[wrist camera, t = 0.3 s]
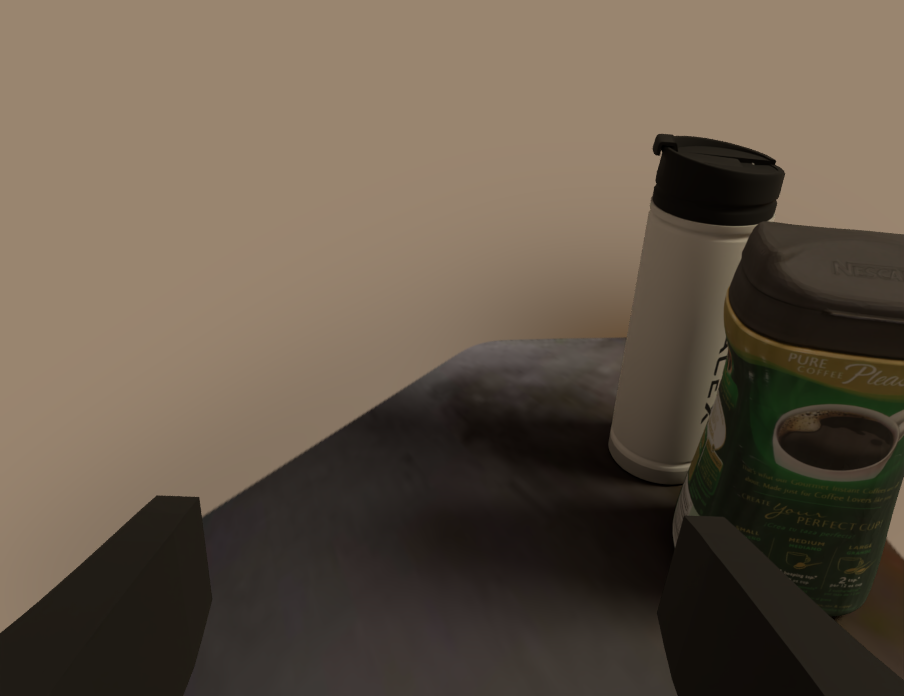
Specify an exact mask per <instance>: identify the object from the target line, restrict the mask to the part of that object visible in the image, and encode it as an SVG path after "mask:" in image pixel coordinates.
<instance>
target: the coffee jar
mask: <svg viewBox="0 0 904 696" xmlns="http://www.w3.org/2000/svg"><path fill="white" fill-rule="evenodd" d="M724 328H725V334H726V339H727V344H728V353H727V359H726V363H725V367H724V371H723V375H722V379H721V382H720V386H719V389H718V393H717V396H716V399H715V402H714V405H713V407H712V410H711V413H710V416H709V419H708V421H707V424H706V426H705V429H704V432H703V434H702V437H701V439H700V442H699V444H698V447H697V450H696V452H695V455H694V457H693V459H692V462H691V465H690V467H689V470H688V472H687V475H686V477H685V480H684V483H683V485H682V488H681V491H680V495H679V498H678V501H677V504H676V509H675V513H674V518H673V542H674V547H675V546H676V543H677V539H678V535H679V532H680V528H681V524H682V521H683V517H684V515H687V516H713V517H724V518H726V519H727V520H728V521H729V522H730V523H731V524H732V525H733V526H735V527H736V528H737V529H738V530H739V531H740V532H741V533H742V534H743V535H744V536H745V537H746V538H747V539H749V540H750V541H751V542H752V543H753V544H754V545H755V546H756V547H757V548H758V549H759V550H760V551H761V552H762V553H763V554H764V555H765V556H766V557H767V558H768V559H769V560H771V561H772V562H773V563H774V564H775V565H776V566H777V567H778V568H779V569H780V570H781V571H782V572H783V573H784V574H785V575H786V576H787V577H788V578H789V579H791V580H792V581H793V582H794V583H795V584H796V585H797V586H798V587H799V588H800V589H801V590H802V591H803V592H804V593H805V594H806V595H807V596H809V597H810V598H811V599H812V600H813V601H814V602H815V603H816V604H817V605H818V606H819V607H820V608H822V609H823V610H824V611H825V612H826V613H827V614H828V615H829V616H841V615H845V614H848V613H851V612H853V611H855V610H856V609H858V608H859V607H861V606H862V605H863V603H864V602H865V601H866V599H867V596H868V594H869V592H870V589H871V587H872V584H873V581H874V578H875V575H876V573H877V569H878V566H879V563H880V559H881V556H882V552H883V548H884V545H885V541H886V537H887V532H888V529H889V525H890V521H891V518H892V514H893V510H894V507H895V503H896V500H897V497H898V493H899V490H900V487H901V484H902V480H903V477H904V235H903V234H892V233H883V232H873V231H862V230H850V229H836V228H824V227H813V226H802V225H792V224H784V223H777V222H769V221H764V222H761V223H759V224H758V225H756V226H755V228H754V229H753V231H752V233H751V234H750V236H749V238H748V240H747V243H746V245H745V247H744V249H743V251H742V258H741V260H740V263H739V265H738V267H737V269H736V271H735V274H734V276H733V279H732V281H731V284H730V286H729V287H728V289H727V292H726V297H725V301H724Z"/></svg>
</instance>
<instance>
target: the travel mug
mask: <svg viewBox="0 0 904 696" xmlns="http://www.w3.org/2000/svg"><path fill="white" fill-rule="evenodd" d="M661 151H662V156H661V160H660V164H659V167H658V170H657V175H656V183H657V184H656V186H655V187H654V192H653V196H652V198H651V203H650V209H651V210H650V211H649V214H648V220H647V226H646V232H645V237H644V243H643V249H642V254H641V260H640V266H639V271H638V277H637V283H636V289H635V295H634V300H633V306H632V311H631V317H630V323H629V329H628V334H627V340H626V346H625V352H624V357H623V363H622V369H621V374H620V380H619V386H618V392H617V397H616V403H615V409H614V414H613V420H612V426H611V432H610V437H609V444H608V446H609V451H610V453H611V455H612V457H613V459H614V460H615V461H616V462H617V464H618V465H619V466H621V467H622V468H623V469H624V470H626V471H627V472H629V473H630V474H632V475H634V476H636V477H638V478H640V479H643V480H646V481H649V482H654V483H659V484H669V485H672V484H683V483H684V480H685V477H686V475H687V472H688V470H689V467H690V465H691V462H692V459H693V457H694V455H695V452H696V450H697V447H698V444H699V442H700V439H701V437H702V434H703V432H704V429H705V426H706V424H707V421H708V419H709V416H710V413H711V410H712V407H713V405H714V402H715V399H716V396H717V393H718V389H719V386H720V382H721V379H722V375H723V371H724V367H725V363H726V359H727V353H728V344H727V339H726V334H725V328H724V301H725V297H726V292H727V289H728V287H729V286H730V284H731V281H732V279H733V276H734V274H735V271H736V269H737V267H738V265H739V263H740V260H741V258H742V251H743V249H744V247H745V245H746V243H747V240H748V238H749V236H750V234H751V233H752V231H753V229H754V228H755V226H756V225H758V224H759V223H761V222H764V221H769V222H773V221H774V218H775V210H776V206H777V201H776V199H778V197H779V194H780V191H781V187H782V183H783V180H784V176H785V173H784V171H783V170H782V169H781V168H780V167H778V166H776V165H775V163H776V160H774V159H773V158H771V157H769V156H767V155H765V154H763V153H760V152H758V151H755V150H752V149H749V148H746V147H742V146H739V145H735V144H732V143H728V142H723V141H718V140H713V139H707V138H701V137H691V136H673V135H668V134H658V135H657V137H656V139H655V142H654V145H653V152H654V154H655V155H658V156H659V155H660V152H661Z"/></svg>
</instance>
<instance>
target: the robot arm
mask: <svg viewBox="0 0 904 696" xmlns="http://www.w3.org/2000/svg"><path fill="white" fill-rule="evenodd" d="M211 602H212V593H211V586H210V578H209V570H208V562H207V554H206V547H205V539H204V531H203V523H202V515H201V508H200V500H199V497H182V496H156V497H155V498H154V499H152V500H151V501H150V502H149V503H148V504H147V505H146V506H145V507H143V508H142V509H141V510H140V511H139V512H138V513H137V514H136V515H134V516H133V517H132V518H131V519H130V520H129V521H128V522H127V523H126V524H125V525H124V526H122V527H121V528H120V529H119V530H118V531H117V532H116V533H115V534H114V535H113V536H112V537H110V538H109V539H108V540H107V541H106V542H105V543H104V544H103V545H102V546H101V547H99V548H98V549H97V550H96V551H95V552H94V553H93V554H92V555H91V556H90V557H88V558H87V559H86V560H85V561H84V562H83V563H82V564H81V565H80V566H78V567H77V568H76V569H75V570H74V571H73V572H72V573H70V574H69V575H68V576H67V577H66V578H65V579H64V580H63V581H62V582H60V583H59V584H58V585H57V586H56V587H55V588H53V589H52V590H51V591H50V592H49V593H48V594H47V595H45V596H44V597H43V598H42V599H41V600H40V601H39V602H37V603H36V604H35V605H34V606H33V607H32V608H30V609H29V610H28V611H27V612H26V613H24V614H23V615H22V616H21V617H20V618H18V619H17V620H16V621H15V622H13V623H12V624H11V625H10V626H9V627H7V628H6V629H5V630H4V631H2V632H1V633H0V696H183V694H184V692H185V689H186V687H187V684H188V682H189V679H190V676H191V674H192V671H193V669H194V666H195V662H196V658H197V655H198V651H199V648H200V644H201V640H202V637H203V633H204V629H205V625H206V621H207V618H208V614H209V610H210V606H211ZM657 615H658V620H659V624H660V629H661V634H662V638H663V643H664V648H665V652H666V656H667V660H668V664H669V668H670V673H671V677H672V680H673V683H674V686H675V689H676V692H677V695H678V696H904V680H903V679H902V678H900V677H899V676H898V675H897V674H896V673H894V672H893V671H892V670H891V669H890V668H888V667H887V666H886V665H885V664H884V663H882V662H881V661H880V660H879V659H878V658H876V657H875V656H874V655H873V654H872V653H871V652H870V651H868V650H867V649H866V648H865V647H864V646H863V645H862V644H860V643H859V642H858V641H857V640H856V639H855V638H854V637H852V636H851V635H850V634H849V633H848V632H847V631H846V630H845V629H843V628H842V627H841V626H840V625H839V624H838V623H837V622H836V621H835V620H833V619H832V618H831V617H830V616H829V615H828V614H827V613H826V612H825V611H824V610H823V609H822V608H820V607H819V606H818V605H817V604H816V603H815V602H814V601H813V600H812V599H811V598H810V597H809V596H807V595H806V594H805V593H804V592H803V591H802V590H801V589H800V588H799V587H798V586H797V585H796V584H795V583H794V582H793V581H792V580H791V579H789V578H788V577H787V576H786V575H785V574H784V573H783V572H782V571H781V570H780V569H779V568H778V567H777V566H776V565H775V564H774V563H773V562H772V561H771V560H769V559H768V558H767V557H766V556H765V555H764V554H763V553H762V552H761V551H760V550H759V549H758V548H757V547H756V546H755V545H754V544H753V543H752V542H751V541H750V540H749V539H747V538H746V537H745V536H744V535H743V534H742V533H741V532H740V531H739V530H738V529H737V528H736V527H735V526H733V525H732V524H731V523H730V522H729V521H728V520H727V519H726V518H724V517H713V516H687V515H684V517H683V521H682V524H681V528H680V532H679V535H678V539H677V543H676V546H675V550H674V553H673V557H672V561H671V564H670V568H669V571H668V575H667V579H666V582H665V586H664V590H663V593H662V597H661V600H660V604H659V608H658V611H657Z"/></svg>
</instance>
